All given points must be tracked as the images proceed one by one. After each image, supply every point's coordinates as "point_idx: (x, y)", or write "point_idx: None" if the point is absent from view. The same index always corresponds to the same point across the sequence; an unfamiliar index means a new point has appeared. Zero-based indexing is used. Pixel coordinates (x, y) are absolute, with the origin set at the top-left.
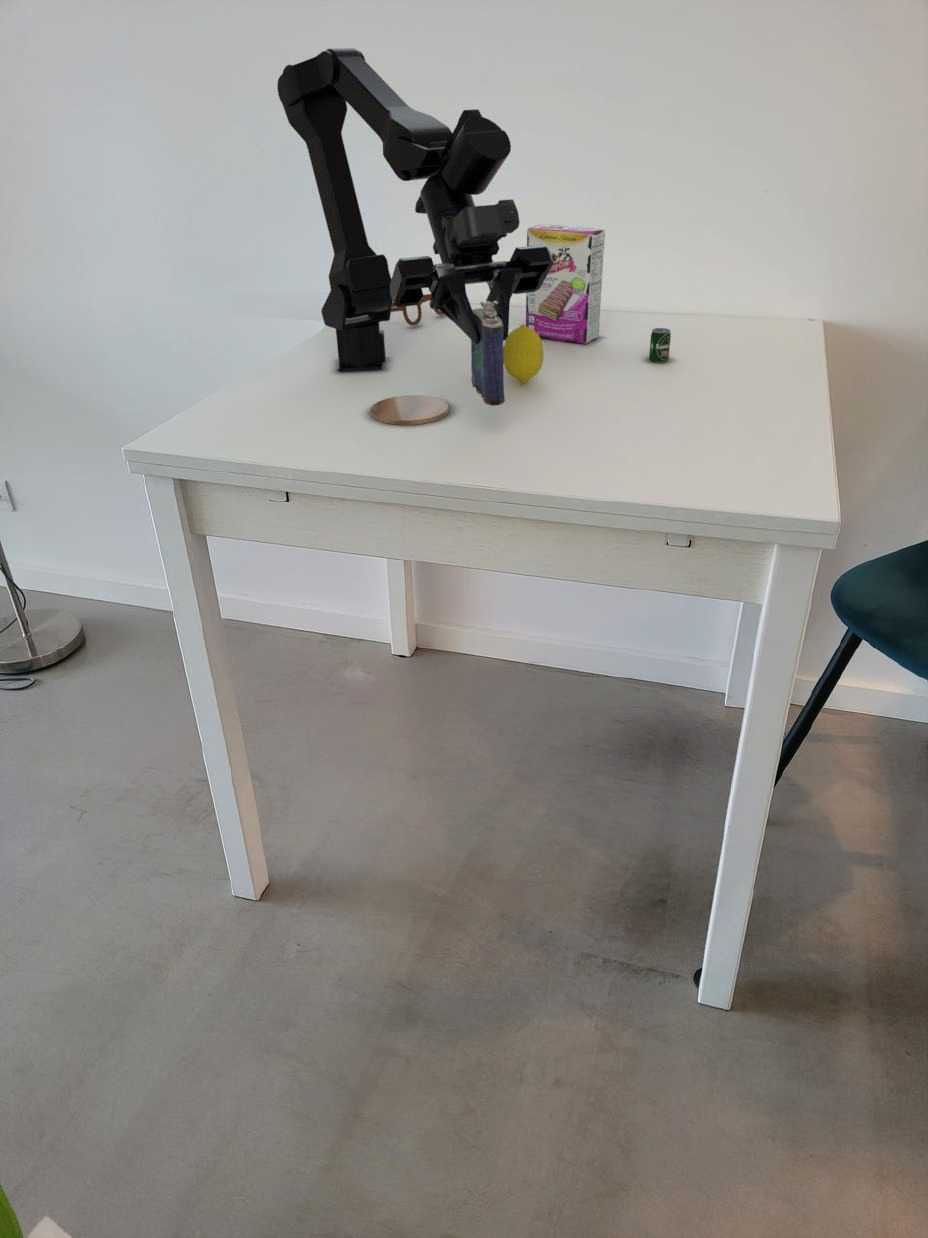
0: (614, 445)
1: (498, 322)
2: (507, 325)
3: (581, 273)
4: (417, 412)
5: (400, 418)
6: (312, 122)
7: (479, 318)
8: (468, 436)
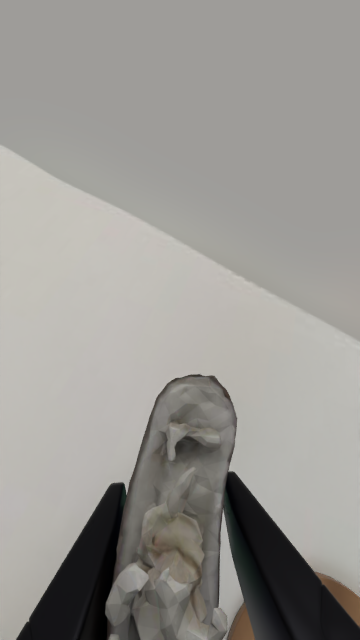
0: (29, 335)
1: (167, 424)
2: (97, 513)
3: None
4: None
5: (344, 602)
6: None
7: (217, 583)
8: None
